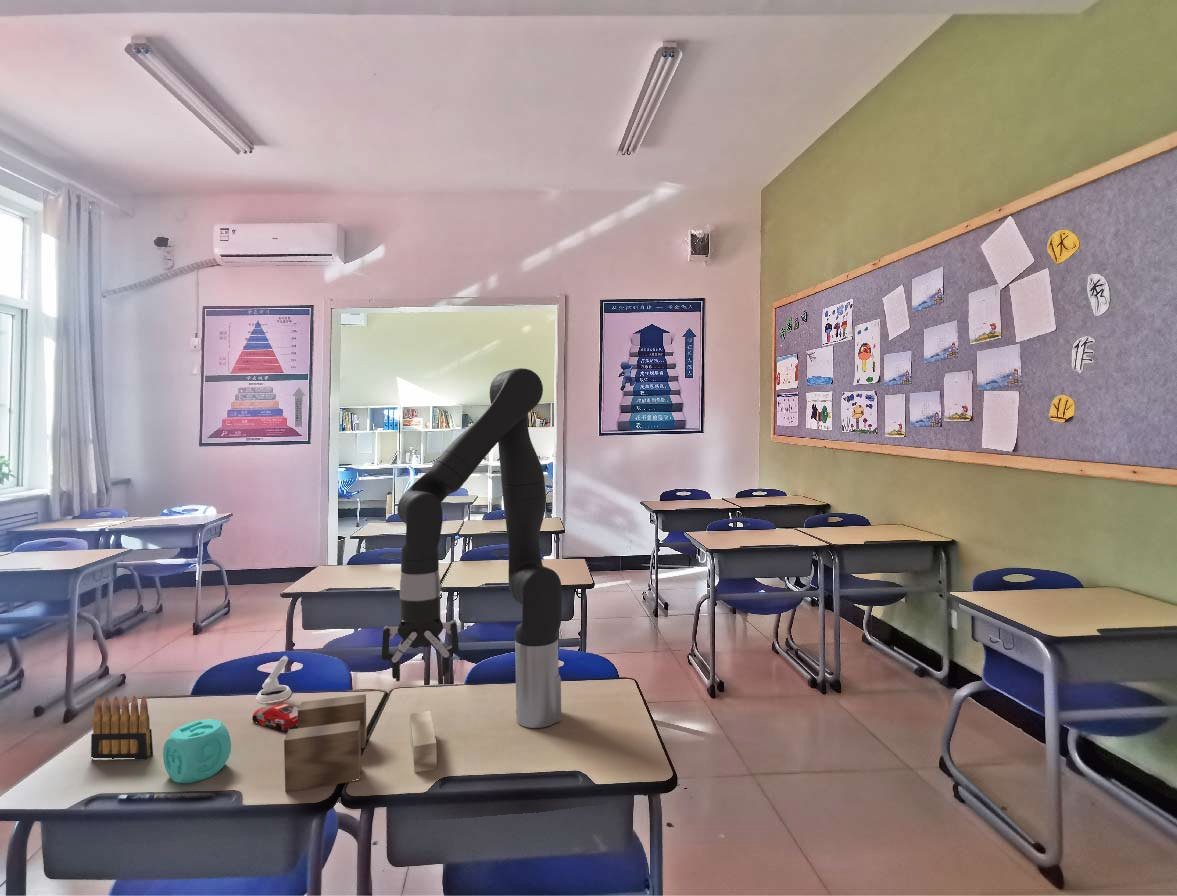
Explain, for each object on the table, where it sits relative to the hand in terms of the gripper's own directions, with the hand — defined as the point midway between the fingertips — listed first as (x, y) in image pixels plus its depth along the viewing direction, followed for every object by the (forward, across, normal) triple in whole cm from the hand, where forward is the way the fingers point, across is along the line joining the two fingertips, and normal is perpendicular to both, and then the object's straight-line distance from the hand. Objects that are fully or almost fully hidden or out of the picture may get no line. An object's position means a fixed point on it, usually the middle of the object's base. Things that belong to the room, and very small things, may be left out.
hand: (421, 677), depth 117 cm
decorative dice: (+15, +40, -5) cm, 43 cm away
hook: (+15, +34, -37) cm, 52 cm away
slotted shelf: (+15, +17, -1) cm, 22 cm away
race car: (+15, +30, -22) cm, 40 cm away
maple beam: (+15, 0, 0) cm, 15 cm away
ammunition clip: (+15, +56, -15) cm, 60 cm away
